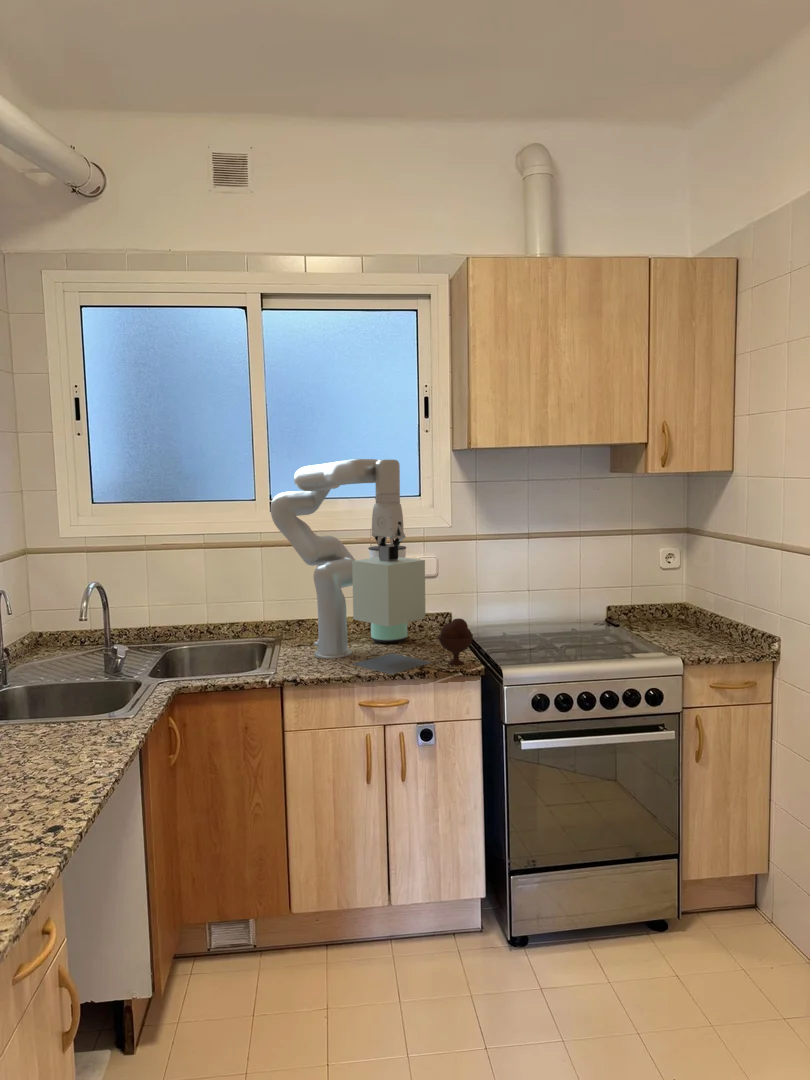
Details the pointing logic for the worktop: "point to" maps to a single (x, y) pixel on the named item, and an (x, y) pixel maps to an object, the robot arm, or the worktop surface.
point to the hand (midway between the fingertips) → (388, 557)
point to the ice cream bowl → (455, 639)
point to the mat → (391, 663)
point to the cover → (388, 589)
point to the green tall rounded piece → (383, 632)
